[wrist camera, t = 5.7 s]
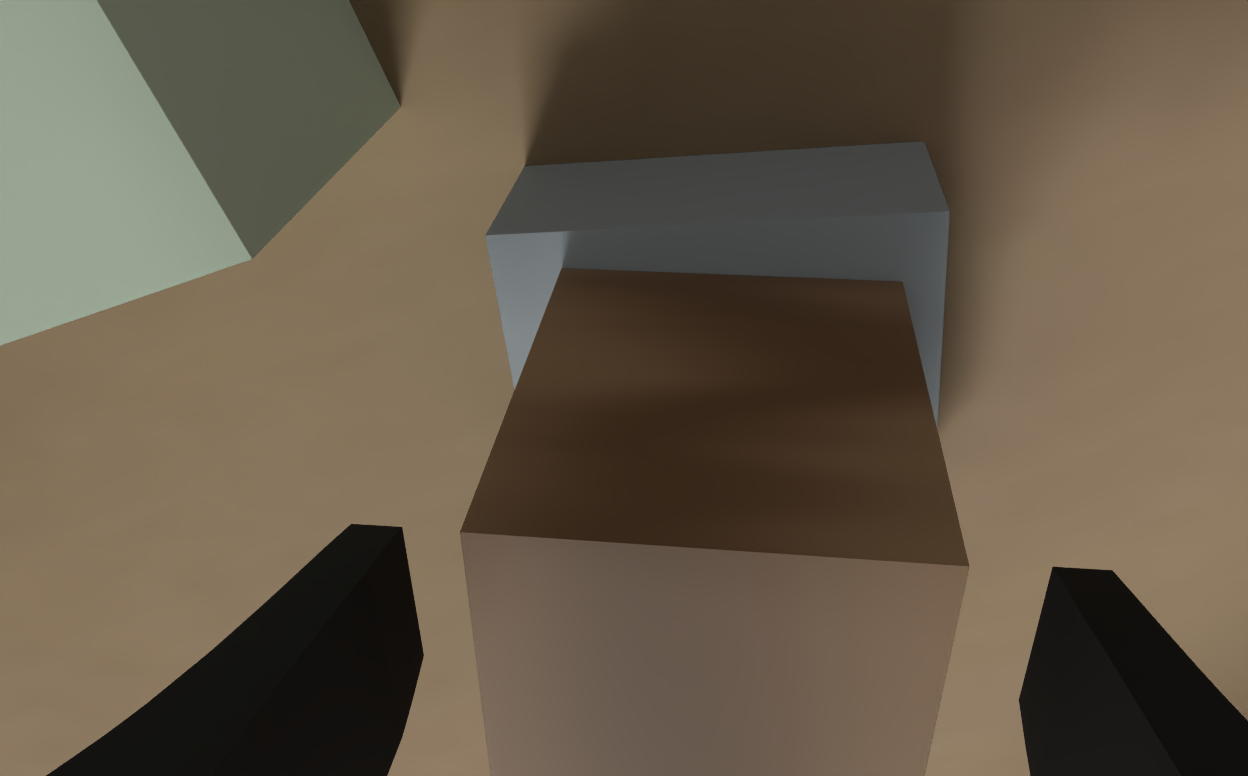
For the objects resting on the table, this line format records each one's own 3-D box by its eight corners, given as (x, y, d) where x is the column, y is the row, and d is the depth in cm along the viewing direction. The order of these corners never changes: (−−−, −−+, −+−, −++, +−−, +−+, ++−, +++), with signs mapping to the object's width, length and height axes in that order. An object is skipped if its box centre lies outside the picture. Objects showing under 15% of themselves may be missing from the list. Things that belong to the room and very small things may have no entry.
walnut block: (902, 281, 14) (969, 565, 9) (865, 546, 16) (902, 877, 11) (561, 268, 14) (460, 532, 10) (574, 526, 17) (498, 837, 12)
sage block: (247, -211, 14) (-12, -180, 9) (401, 106, 16) (251, 259, 11) (-8, -83, 15) (-347, -2, 11) (165, 194, 17) (-55, 364, 13)
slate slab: (921, 133, 16) (949, 211, 13) (907, 461, 19) (928, 575, 16) (528, 158, 17) (485, 235, 14) (577, 467, 20) (549, 575, 17)
